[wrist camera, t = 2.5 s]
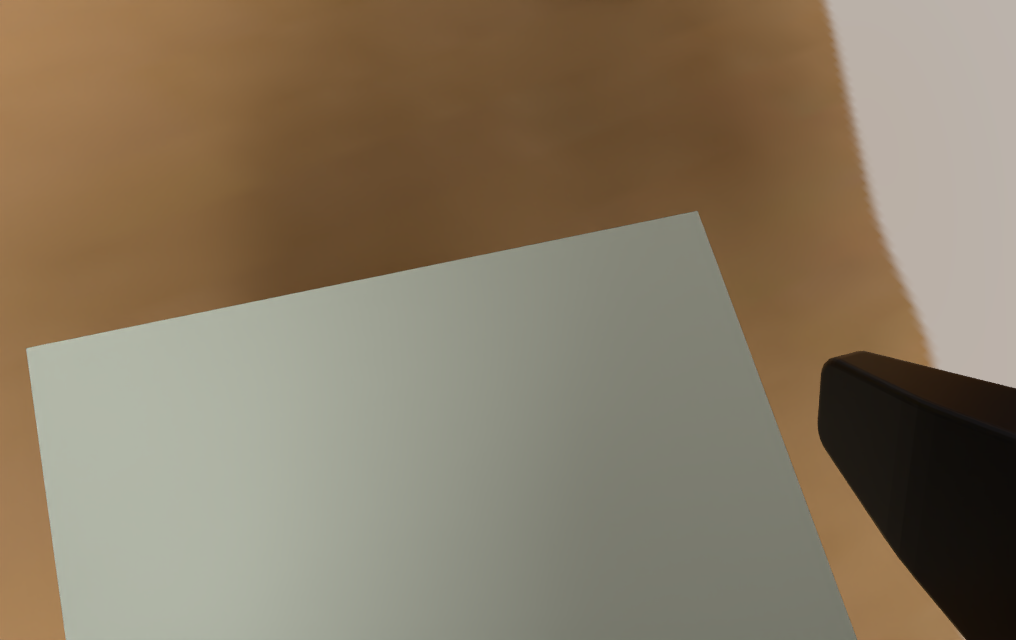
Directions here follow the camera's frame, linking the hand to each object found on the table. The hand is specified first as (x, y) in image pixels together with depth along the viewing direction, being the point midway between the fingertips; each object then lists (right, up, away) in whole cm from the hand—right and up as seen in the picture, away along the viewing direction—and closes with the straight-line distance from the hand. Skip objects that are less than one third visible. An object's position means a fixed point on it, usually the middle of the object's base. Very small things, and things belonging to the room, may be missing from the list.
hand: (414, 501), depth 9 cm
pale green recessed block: (-1, -3, +7) cm, 8 cm away
